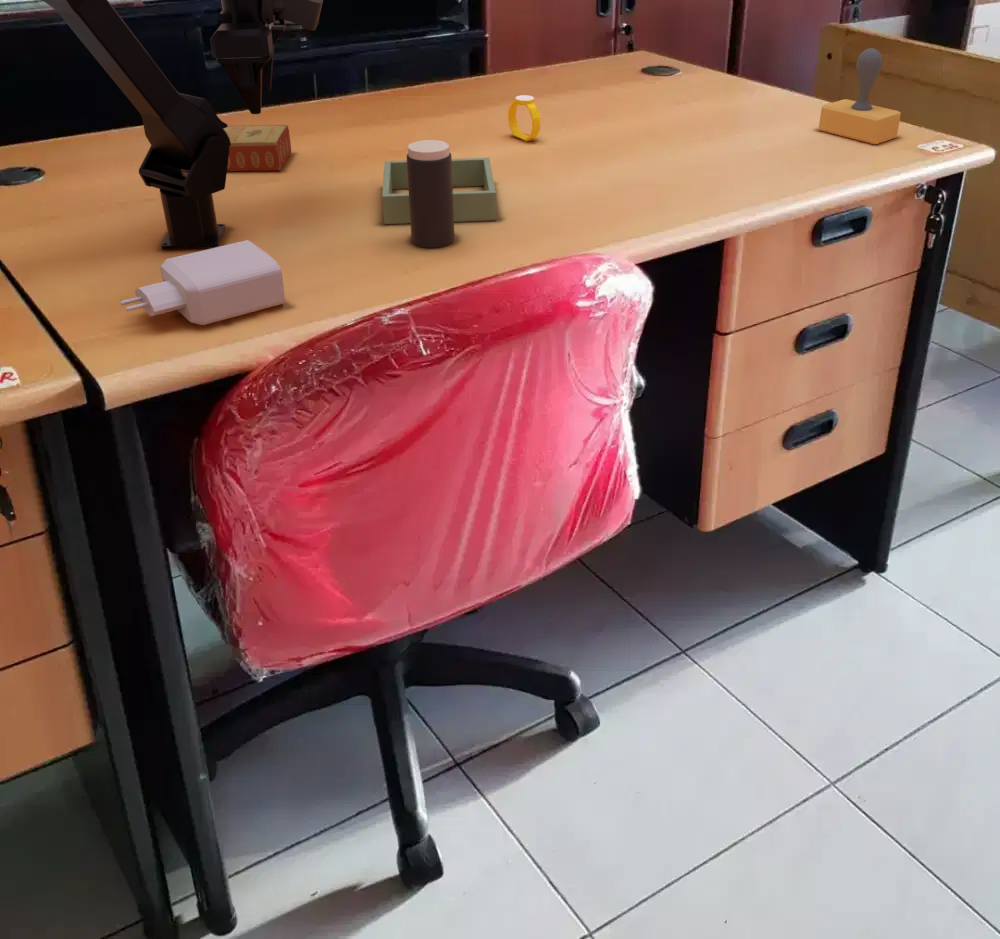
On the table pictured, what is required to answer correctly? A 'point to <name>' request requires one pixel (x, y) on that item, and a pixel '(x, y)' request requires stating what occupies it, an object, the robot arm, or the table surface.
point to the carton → (258, 147)
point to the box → (464, 202)
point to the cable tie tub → (430, 193)
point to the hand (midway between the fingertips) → (261, 102)
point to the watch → (535, 116)
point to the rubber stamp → (861, 108)
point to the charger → (214, 284)
